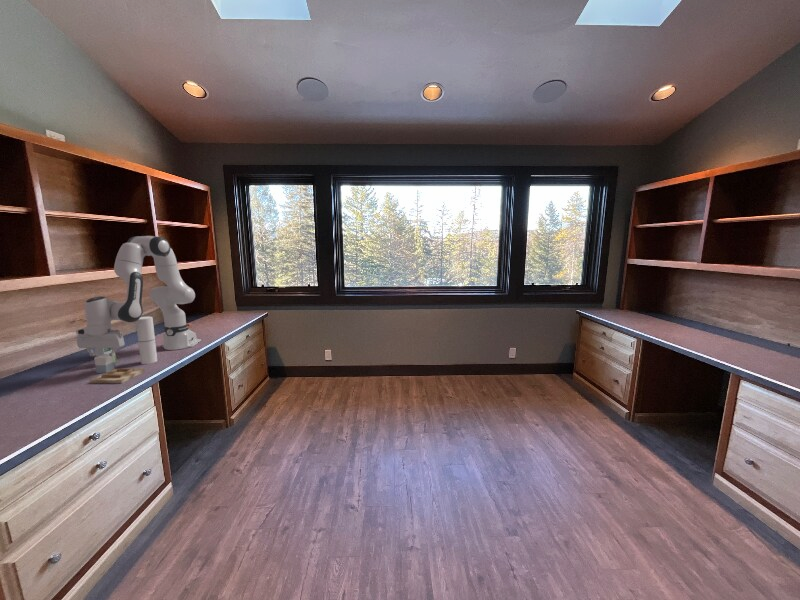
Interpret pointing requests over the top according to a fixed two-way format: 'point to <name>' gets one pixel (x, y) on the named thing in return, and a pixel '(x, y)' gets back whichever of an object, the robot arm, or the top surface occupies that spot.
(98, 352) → the syrup box
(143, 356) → the cylindrical container
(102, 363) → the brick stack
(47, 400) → the top surface
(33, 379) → the top surface
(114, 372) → the base plate
